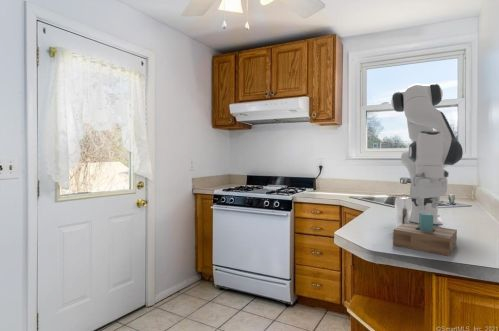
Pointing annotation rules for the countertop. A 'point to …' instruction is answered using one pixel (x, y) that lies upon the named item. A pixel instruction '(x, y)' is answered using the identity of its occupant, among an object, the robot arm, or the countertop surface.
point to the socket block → (425, 238)
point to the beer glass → (403, 210)
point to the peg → (426, 222)
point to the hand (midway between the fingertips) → (428, 209)
